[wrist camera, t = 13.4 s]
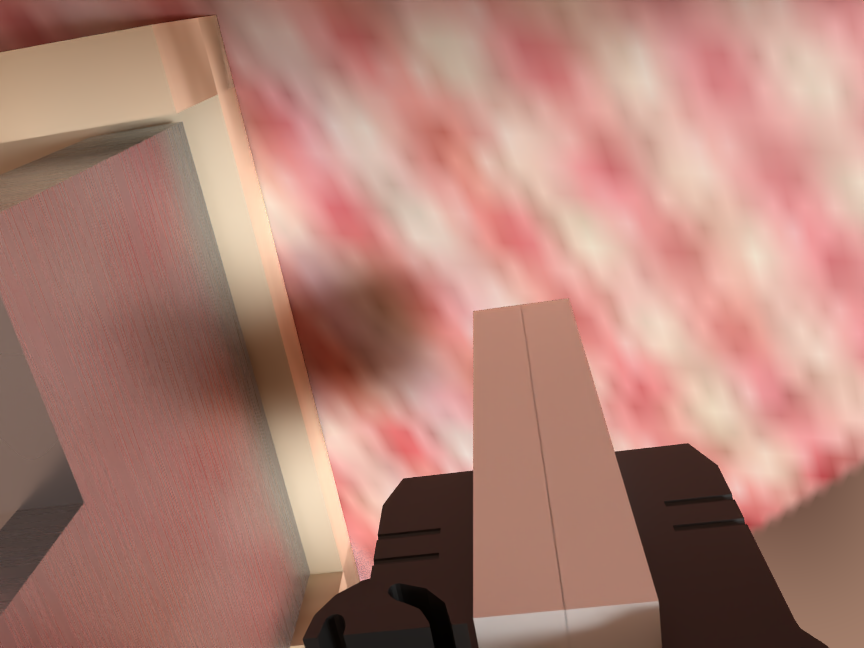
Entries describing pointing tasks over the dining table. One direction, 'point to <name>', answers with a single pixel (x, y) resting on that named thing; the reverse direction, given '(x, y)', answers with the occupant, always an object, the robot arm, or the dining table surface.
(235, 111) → the lane
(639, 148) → the dining table surface
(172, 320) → the block
